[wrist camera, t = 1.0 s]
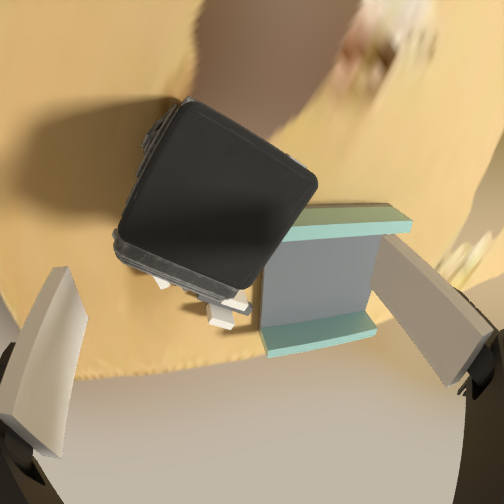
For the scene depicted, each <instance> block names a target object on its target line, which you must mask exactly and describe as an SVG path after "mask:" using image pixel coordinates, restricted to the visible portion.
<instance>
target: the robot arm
mask: <svg viewBox="0 0 504 504" xmlns="http://www.w3.org/2000/svg"><path fill="white" fill-rule="evenodd" d="M369 286H370V287H371V289H372V290H373V291H374V292H375V293H376V295H377V296H378V297H379V298H380V300H381V301H382V302H383V303H384V305H385V306H386V307H387V308H388V310H389V311H390V312H391V314H392V315H393V316H394V317H395V319H396V320H397V321H398V323H399V324H400V325H401V326H402V328H403V329H404V330H405V332H406V333H407V334H408V336H409V337H410V338H411V340H412V341H413V342H414V344H415V345H416V346H417V348H418V349H419V350H420V352H421V353H422V354H423V356H424V357H425V359H426V360H427V361H428V363H429V364H430V365H431V367H432V368H433V370H434V371H435V373H436V374H437V375H438V377H439V378H440V380H441V381H442V382H443V384H444V385H445V387H446V388H448V387H450V386H452V385H453V384H455V383H457V382H459V381H460V379H461V378H462V377H463V375H464V374H465V373H466V371H467V372H468V373H469V374H470V376H469V377H468V378H467V380H466V381H465V383H464V384H463V385H462V386H461V388H460V389H459V390H458V393H457V394H458V395H460V394H461V392H462V391H463V390H464V389H465V388H466V391H465V392H464V394H463V396H466V413H465V428H464V439H463V448H462V456H461V463H460V469H459V476H458V481H457V486H456V491H455V495H454V500H453V504H504V329H503V330H500V332H499V331H498V330H497V329H496V328H495V327H494V326H493V325H492V323H491V322H490V321H489V320H488V319H487V318H486V317H485V316H484V315H483V314H482V313H481V311H480V310H479V309H478V308H475V305H474V304H473V303H472V302H469V299H468V298H467V297H466V296H465V295H464V294H463V293H462V292H461V291H459V290H457V289H456V288H454V287H452V286H451V285H450V284H449V283H448V282H447V281H446V280H445V279H444V278H443V277H442V276H441V275H440V274H439V273H438V272H437V271H436V270H434V269H433V268H432V267H431V266H430V265H429V264H428V263H427V262H426V261H425V260H424V259H422V258H421V257H420V256H419V255H418V254H417V253H416V252H415V251H413V250H412V249H411V248H410V247H409V246H408V245H407V244H405V243H404V242H403V241H402V240H401V239H400V238H398V237H397V236H396V235H395V234H390V235H381V240H380V244H379V248H378V252H377V256H376V260H375V264H374V268H373V272H372V276H371V279H370V283H369ZM87 322H88V316H87V314H86V311H85V309H84V306H83V304H82V301H81V299H80V296H79V294H78V291H77V288H76V286H75V283H74V280H73V277H72V274H71V272H70V269H69V266H64V267H54V268H52V270H51V272H50V274H49V276H48V277H47V279H46V281H45V283H44V285H43V287H42V289H41V291H40V292H39V294H38V296H37V298H36V300H35V302H34V304H33V306H32V308H31V311H30V313H29V315H28V317H27V319H26V321H25V323H24V326H23V328H22V330H21V332H20V335H19V337H18V339H17V342H16V343H12V342H11V343H10V344H9V346H8V347H7V348H6V349H5V351H4V352H3V354H2V356H1V358H0V504H64V503H63V501H62V500H61V498H60V497H59V495H58V494H57V492H56V491H55V489H54V488H53V486H52V485H51V483H50V482H49V480H48V479H47V477H46V475H45V474H44V472H43V470H42V468H41V467H40V466H39V463H38V461H37V460H36V459H35V458H34V456H32V455H33V448H34V449H35V450H37V452H39V453H40V454H41V455H43V456H47V457H53V458H59V459H62V452H63V443H64V434H65V427H66V420H67V413H68V406H69V401H70V396H71V390H72V385H73V380H74V375H75V371H76V366H77V362H78V357H79V353H80V349H81V345H82V341H83V337H84V333H85V330H86V326H87Z"/></svg>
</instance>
